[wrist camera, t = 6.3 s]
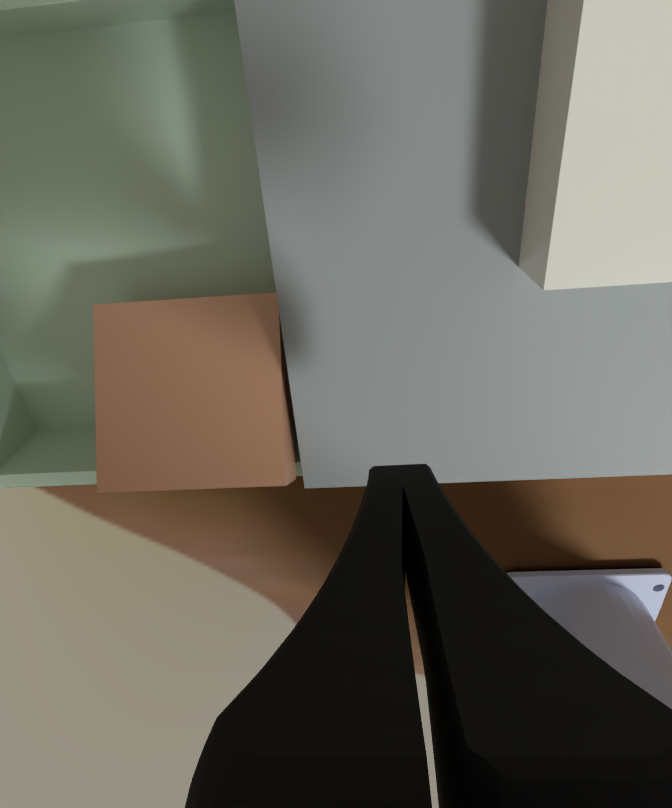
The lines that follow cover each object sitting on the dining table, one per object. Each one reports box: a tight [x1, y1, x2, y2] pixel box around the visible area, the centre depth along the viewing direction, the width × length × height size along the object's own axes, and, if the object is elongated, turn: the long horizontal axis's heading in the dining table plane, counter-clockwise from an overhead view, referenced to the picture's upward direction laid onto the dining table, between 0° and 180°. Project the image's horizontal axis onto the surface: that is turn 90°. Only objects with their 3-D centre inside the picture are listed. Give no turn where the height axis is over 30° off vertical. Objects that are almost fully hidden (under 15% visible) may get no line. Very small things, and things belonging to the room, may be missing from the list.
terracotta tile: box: [93, 292, 296, 493], centre depth 16 cm, size 6×6×2 cm
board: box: [234, 0, 672, 488], centre depth 15 cm, size 14×15×4 cm
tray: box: [0, 0, 303, 488], centre depth 16 cm, size 14×12×4 cm
